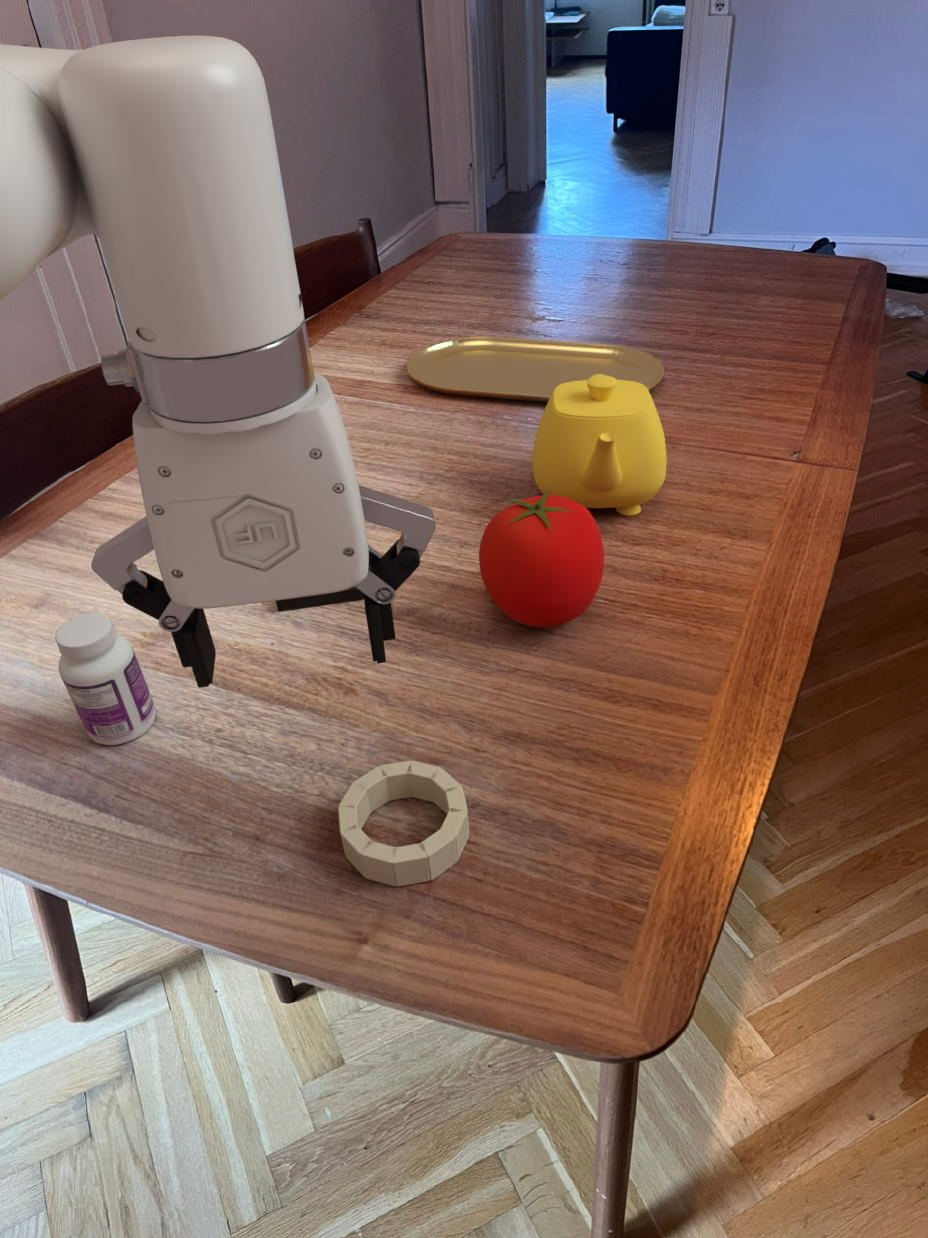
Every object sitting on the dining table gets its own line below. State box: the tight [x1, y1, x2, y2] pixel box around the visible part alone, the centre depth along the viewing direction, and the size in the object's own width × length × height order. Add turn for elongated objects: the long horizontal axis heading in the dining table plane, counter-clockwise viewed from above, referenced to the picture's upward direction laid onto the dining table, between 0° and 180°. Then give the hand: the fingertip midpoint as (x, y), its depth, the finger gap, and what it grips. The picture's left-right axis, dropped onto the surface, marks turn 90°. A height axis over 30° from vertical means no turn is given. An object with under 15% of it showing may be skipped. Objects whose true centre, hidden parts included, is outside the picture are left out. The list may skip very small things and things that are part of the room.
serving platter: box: [406, 335, 665, 404], centre depth 119 cm, size 19×35×2 cm, turn 71°
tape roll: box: [337, 760, 471, 888], centre depth 59 cm, size 8×8×2 cm
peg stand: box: [275, 586, 364, 612], centre depth 82 cm, size 9×9×7 cm
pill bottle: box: [54, 612, 157, 746], centre depth 67 cm, size 5×5×10 cm
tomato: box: [478, 490, 605, 628], centre depth 75 cm, size 10×11×11 cm
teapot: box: [531, 374, 668, 516], centre depth 89 cm, size 14×20×13 cm
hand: (293, 659), depth 50 cm, fingers open, 9 cm apart
